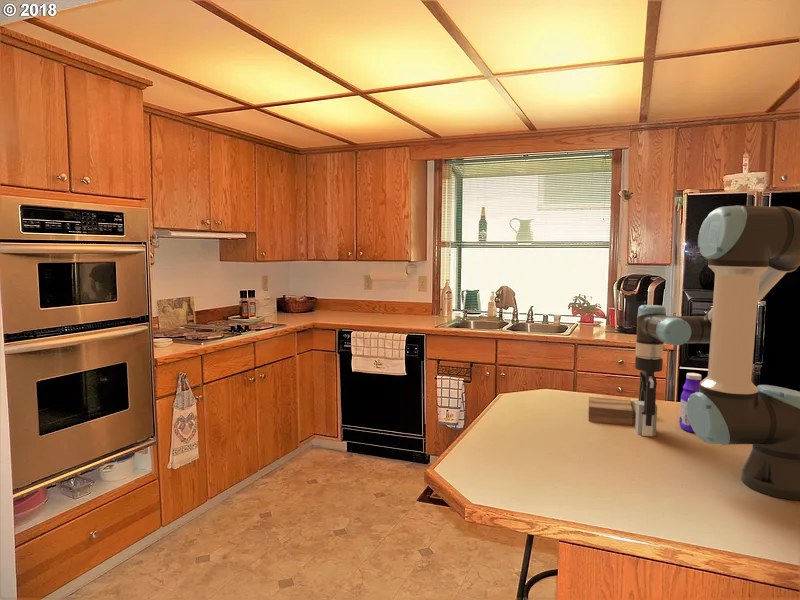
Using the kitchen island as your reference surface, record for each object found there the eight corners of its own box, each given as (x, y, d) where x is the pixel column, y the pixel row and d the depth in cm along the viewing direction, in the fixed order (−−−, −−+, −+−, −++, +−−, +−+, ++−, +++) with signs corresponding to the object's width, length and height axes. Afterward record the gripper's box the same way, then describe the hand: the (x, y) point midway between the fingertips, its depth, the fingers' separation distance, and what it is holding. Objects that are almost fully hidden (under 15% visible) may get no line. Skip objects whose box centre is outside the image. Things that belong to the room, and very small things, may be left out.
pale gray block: (655, 436, 165) (657, 406, 164) (637, 434, 166) (639, 405, 165) (652, 430, 169) (654, 401, 169) (635, 429, 171) (636, 400, 170)
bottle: (706, 433, 167) (709, 376, 165) (687, 433, 167) (690, 376, 166) (693, 426, 174) (697, 371, 173) (675, 425, 174) (678, 371, 173)
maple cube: (650, 418, 182) (651, 403, 182) (635, 418, 182) (636, 403, 182) (643, 413, 187) (644, 399, 187) (629, 413, 187) (629, 399, 187)
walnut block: (632, 426, 174) (632, 411, 174) (588, 422, 178) (589, 406, 178) (629, 415, 187) (629, 400, 186) (588, 411, 191) (588, 397, 190)
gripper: (669, 364, 155) (665, 443, 157) (656, 351, 174) (652, 423, 176) (640, 362, 157) (636, 441, 159) (631, 350, 176) (627, 420, 178)
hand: (645, 431), depth 168 cm, fingers open, 7 cm apart
